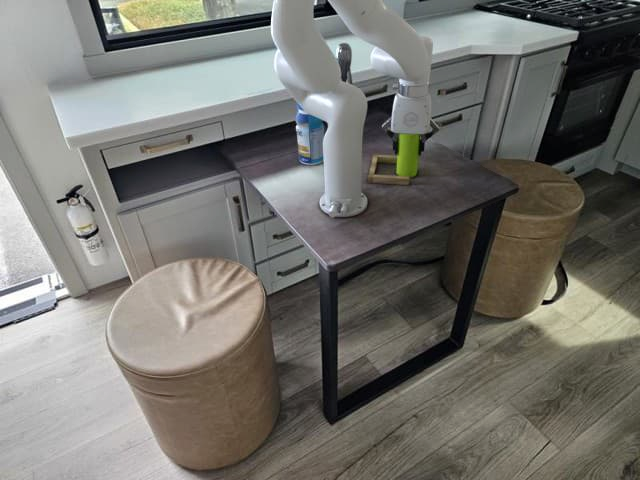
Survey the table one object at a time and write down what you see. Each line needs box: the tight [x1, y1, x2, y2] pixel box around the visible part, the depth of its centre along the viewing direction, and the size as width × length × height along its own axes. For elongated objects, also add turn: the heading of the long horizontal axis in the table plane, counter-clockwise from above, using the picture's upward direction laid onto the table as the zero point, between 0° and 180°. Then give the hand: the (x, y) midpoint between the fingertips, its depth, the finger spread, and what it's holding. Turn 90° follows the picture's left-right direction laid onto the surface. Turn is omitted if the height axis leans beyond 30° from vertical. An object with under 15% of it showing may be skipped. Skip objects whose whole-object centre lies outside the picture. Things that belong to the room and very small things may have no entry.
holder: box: [367, 153, 410, 186], centre depth 126 cm, size 14×11×2 cm
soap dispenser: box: [395, 134, 421, 178], centre depth 119 cm, size 6×7×20 cm
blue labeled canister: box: [295, 102, 325, 166], centre depth 129 cm, size 8×8×20 cm
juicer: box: [325, 42, 354, 132], centre depth 138 cm, size 10×11×30 cm
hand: (408, 152), depth 121 cm, fingers closed on soap dispenser, 6 cm apart
